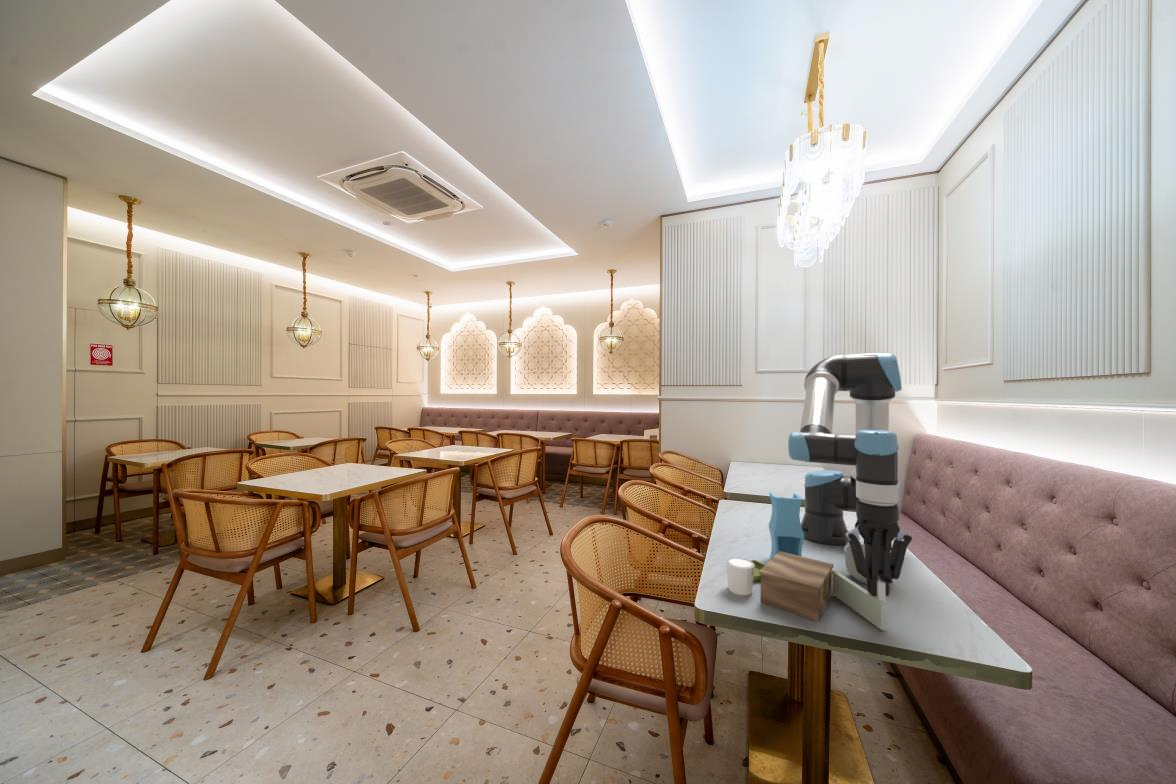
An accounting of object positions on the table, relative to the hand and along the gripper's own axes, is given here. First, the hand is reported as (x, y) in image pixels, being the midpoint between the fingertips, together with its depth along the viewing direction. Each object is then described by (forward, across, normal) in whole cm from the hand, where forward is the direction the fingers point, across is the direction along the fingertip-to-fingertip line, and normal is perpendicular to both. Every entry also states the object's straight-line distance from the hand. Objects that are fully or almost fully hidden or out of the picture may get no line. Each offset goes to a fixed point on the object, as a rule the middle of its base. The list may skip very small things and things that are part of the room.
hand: (878, 609), depth 86 cm
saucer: (+3, +19, -22) cm, 30 cm away
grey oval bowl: (+3, -10, -23) cm, 26 cm away
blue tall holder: (+3, +7, -31) cm, 32 cm away
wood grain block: (+3, +13, -9) cm, 16 cm away
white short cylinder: (+3, +26, -12) cm, 29 cm away
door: (+2, +2, -4) cm, 5 cm away
